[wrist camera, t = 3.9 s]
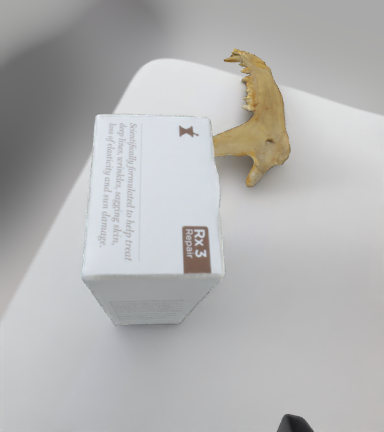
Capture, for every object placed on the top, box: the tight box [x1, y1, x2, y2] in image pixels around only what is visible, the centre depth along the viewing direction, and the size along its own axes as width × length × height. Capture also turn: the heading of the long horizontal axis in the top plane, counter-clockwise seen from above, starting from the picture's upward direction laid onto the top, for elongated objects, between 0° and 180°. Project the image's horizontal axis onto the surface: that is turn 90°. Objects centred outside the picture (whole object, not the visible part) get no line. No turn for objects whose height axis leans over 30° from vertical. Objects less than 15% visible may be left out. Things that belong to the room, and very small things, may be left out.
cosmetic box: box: [81, 114, 225, 325], centre depth 15 cm, size 6×4×12 cm
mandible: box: [212, 48, 290, 187], centre depth 27 cm, size 6×17×3 cm, turn 167°
